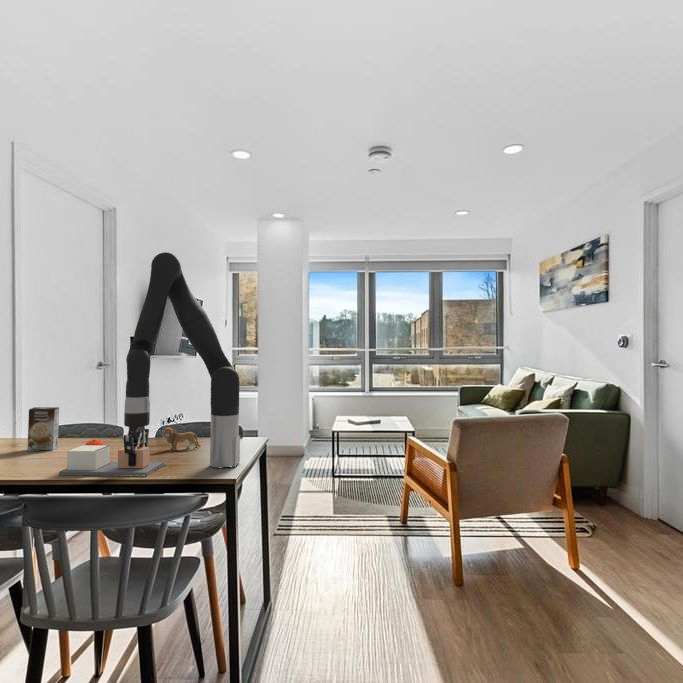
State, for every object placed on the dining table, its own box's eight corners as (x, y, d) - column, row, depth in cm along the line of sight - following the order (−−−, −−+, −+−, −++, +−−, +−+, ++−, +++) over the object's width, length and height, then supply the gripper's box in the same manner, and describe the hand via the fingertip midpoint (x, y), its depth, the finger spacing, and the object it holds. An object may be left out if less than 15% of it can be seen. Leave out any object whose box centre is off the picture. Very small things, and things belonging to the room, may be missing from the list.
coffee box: (26, 451, 180) (27, 409, 181) (32, 448, 187) (33, 407, 187) (53, 450, 183) (54, 408, 183) (58, 447, 189) (59, 406, 189)
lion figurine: (163, 452, 181) (163, 428, 181) (160, 450, 186) (161, 426, 186) (202, 448, 189) (202, 426, 189) (199, 446, 193) (199, 424, 194)
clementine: (91, 456, 173) (91, 436, 174) (110, 456, 173) (110, 436, 174) (78, 461, 165) (79, 440, 166) (98, 461, 165) (99, 441, 166)
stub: (149, 464, 156) (149, 447, 156) (142, 468, 151) (143, 450, 151) (124, 464, 156) (125, 447, 156) (117, 467, 151) (118, 450, 151)
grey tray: (163, 465, 160) (164, 444, 160) (146, 476, 146) (147, 453, 146) (83, 464, 160) (84, 443, 161) (58, 475, 146) (59, 452, 147)
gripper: (139, 413, 147) (138, 469, 146) (157, 408, 161) (156, 459, 161) (114, 413, 147) (113, 469, 146) (135, 408, 161) (134, 458, 161)
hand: (136, 463), depth 153 cm, fingers closed on stub, 5 cm apart
